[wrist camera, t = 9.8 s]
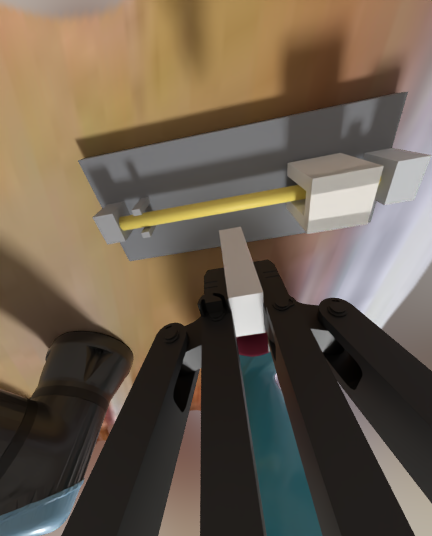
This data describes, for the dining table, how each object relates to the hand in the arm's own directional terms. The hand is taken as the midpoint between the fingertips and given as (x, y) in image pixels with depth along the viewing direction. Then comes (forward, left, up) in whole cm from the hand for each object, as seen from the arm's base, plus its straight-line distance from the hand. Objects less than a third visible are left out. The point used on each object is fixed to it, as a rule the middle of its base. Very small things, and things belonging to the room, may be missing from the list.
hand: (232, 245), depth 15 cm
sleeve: (+9, 0, -10) cm, 13 cm away
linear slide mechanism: (+2, 0, -11) cm, 11 cm away
